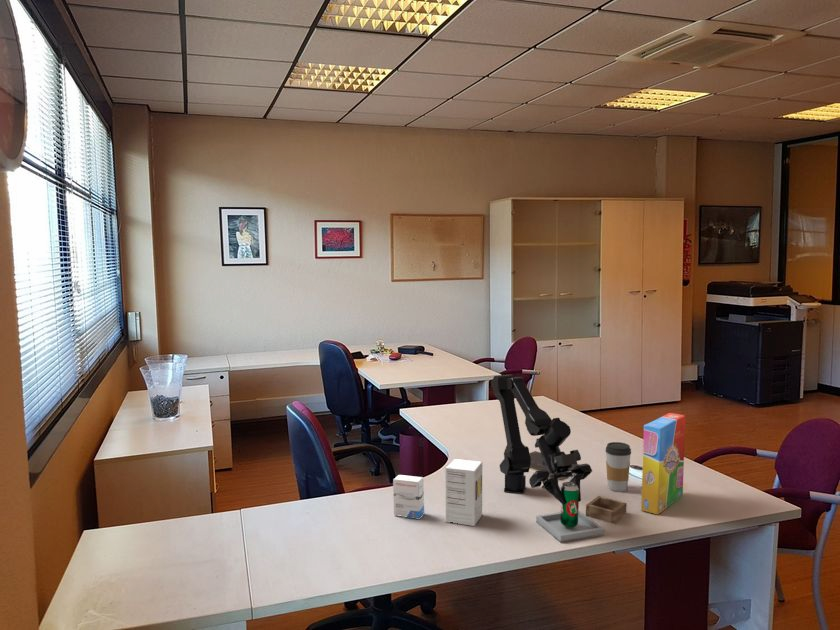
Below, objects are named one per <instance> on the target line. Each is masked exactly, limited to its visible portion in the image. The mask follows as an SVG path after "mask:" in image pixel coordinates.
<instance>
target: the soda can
mask: <svg viewBox="0 0 840 630" xmlns="http://www.w3.org/2000/svg"><path fill="white" fill-rule="evenodd" d="M560 490H561V492H562V495H563V497H564V500H565V504H564V505H563V504H562V503H561V502H560V512H561V514H560V522H561V524H562V525H563V526H566V527H575V526H577V525H578V510H580V508H579V507H580V505H579V504H580V502H579V488H578V485H577V484H576V483H574V482H569V481H564V482H562V484H561V486H560Z"/></svg>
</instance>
